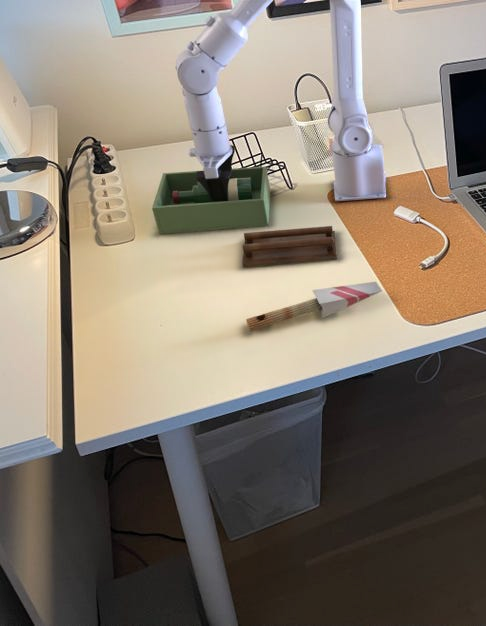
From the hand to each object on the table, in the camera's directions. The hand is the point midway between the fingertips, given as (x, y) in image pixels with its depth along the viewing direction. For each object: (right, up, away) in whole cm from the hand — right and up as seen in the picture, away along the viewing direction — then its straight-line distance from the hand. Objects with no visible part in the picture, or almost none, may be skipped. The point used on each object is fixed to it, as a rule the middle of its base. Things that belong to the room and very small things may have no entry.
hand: (223, 197), depth 129 cm
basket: (-2, -2, +1) cm, 3 cm away
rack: (+14, -10, -8) cm, 19 cm away
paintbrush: (+22, -21, -22) cm, 37 cm away
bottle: (-2, -2, +1) cm, 3 cm away
